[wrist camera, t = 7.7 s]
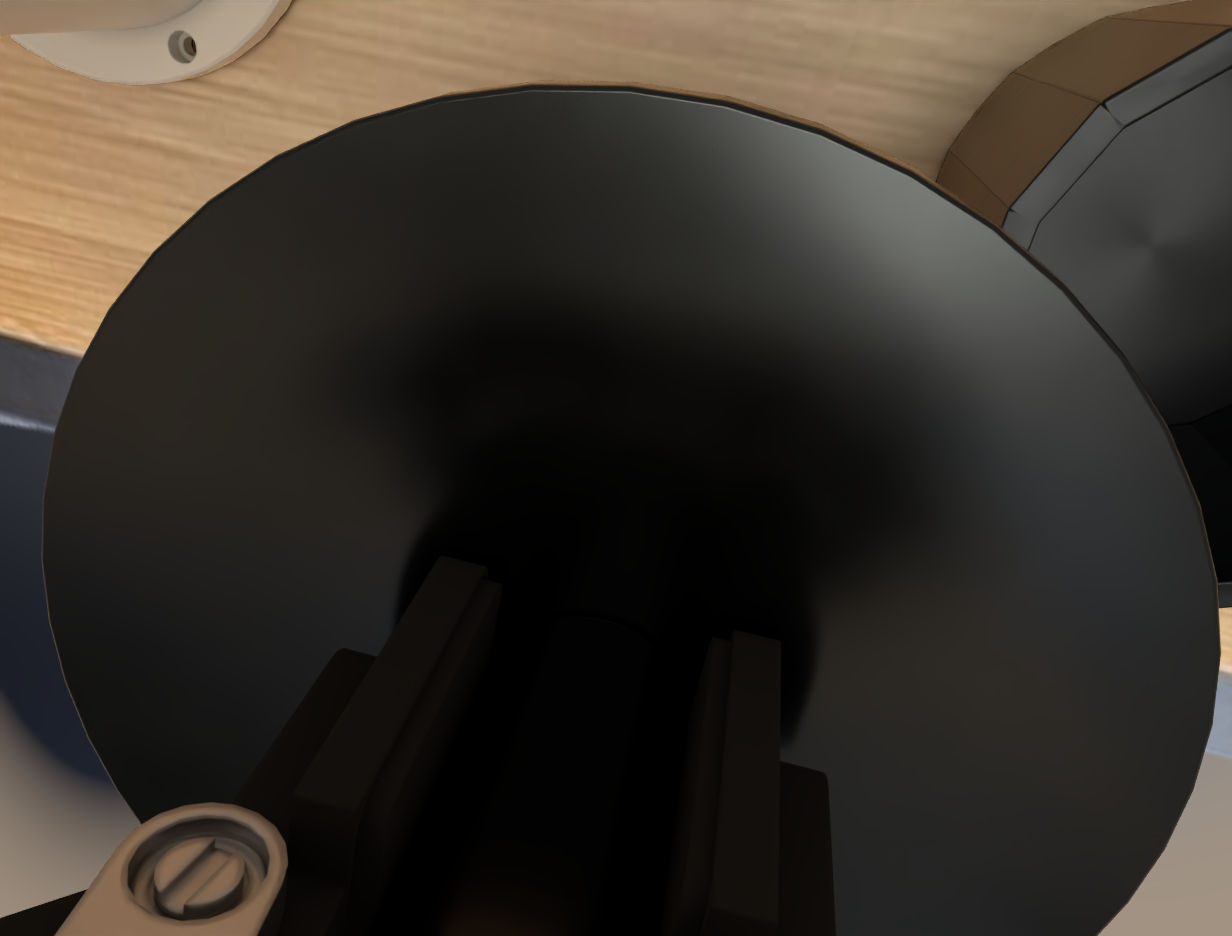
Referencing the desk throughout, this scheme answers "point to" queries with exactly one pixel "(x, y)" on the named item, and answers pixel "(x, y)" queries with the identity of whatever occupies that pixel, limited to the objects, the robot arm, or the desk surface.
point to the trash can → (1131, 210)
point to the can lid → (643, 508)
